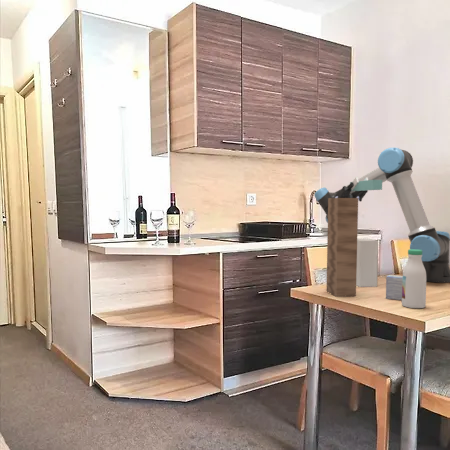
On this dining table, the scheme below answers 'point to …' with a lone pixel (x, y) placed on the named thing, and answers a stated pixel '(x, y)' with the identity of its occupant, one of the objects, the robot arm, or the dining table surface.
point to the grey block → (367, 263)
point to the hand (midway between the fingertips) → (362, 179)
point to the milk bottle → (414, 281)
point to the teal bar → (368, 185)
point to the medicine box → (394, 287)
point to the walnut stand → (342, 246)
